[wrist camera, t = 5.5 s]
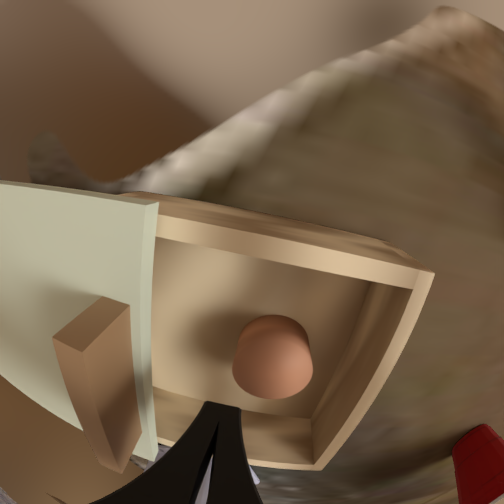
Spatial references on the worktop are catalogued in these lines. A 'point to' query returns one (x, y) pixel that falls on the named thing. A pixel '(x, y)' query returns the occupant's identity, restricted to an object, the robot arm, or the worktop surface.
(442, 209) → the worktop surface
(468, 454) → the plastic cup
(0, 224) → the lid
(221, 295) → the storage box
